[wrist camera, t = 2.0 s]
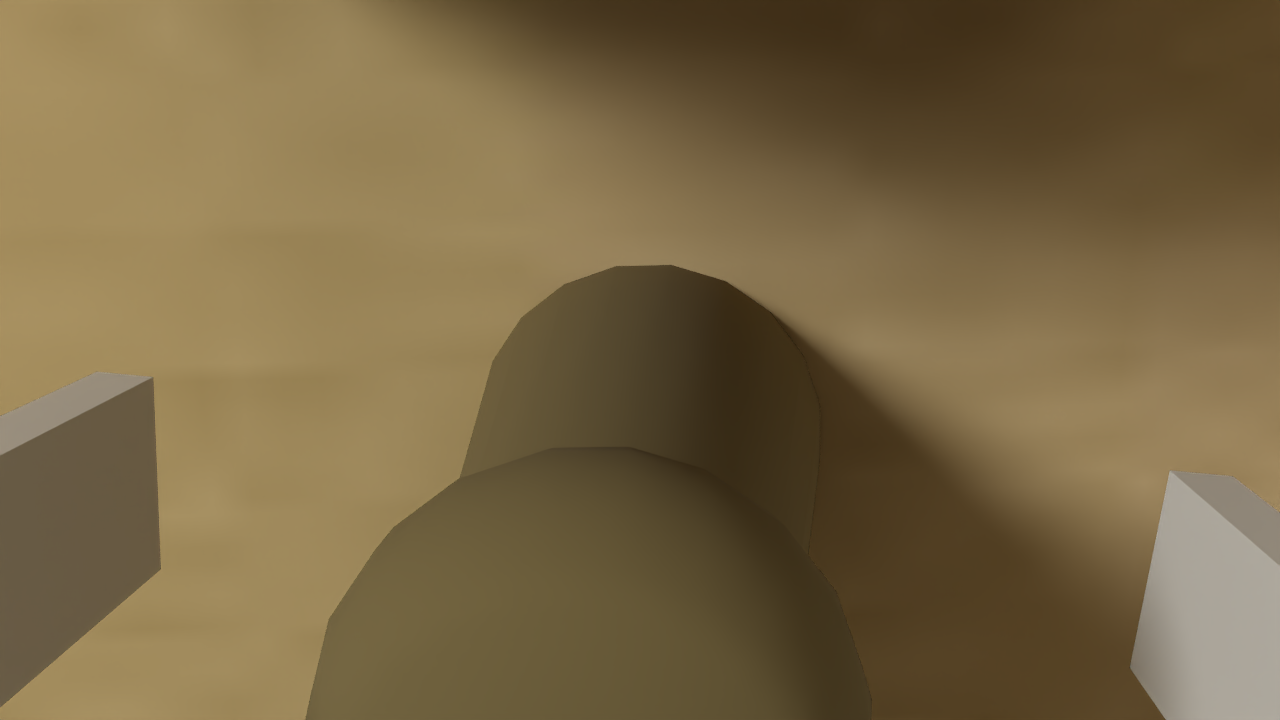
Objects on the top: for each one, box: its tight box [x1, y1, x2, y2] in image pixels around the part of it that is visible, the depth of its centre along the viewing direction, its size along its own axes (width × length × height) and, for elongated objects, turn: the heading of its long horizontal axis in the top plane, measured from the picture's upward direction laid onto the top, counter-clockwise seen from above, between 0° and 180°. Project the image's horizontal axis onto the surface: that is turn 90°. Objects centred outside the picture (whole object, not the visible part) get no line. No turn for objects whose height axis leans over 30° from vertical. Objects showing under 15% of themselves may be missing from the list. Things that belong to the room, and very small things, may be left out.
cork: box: [305, 265, 872, 720], centre depth 14 cm, size 6×6×11 cm
